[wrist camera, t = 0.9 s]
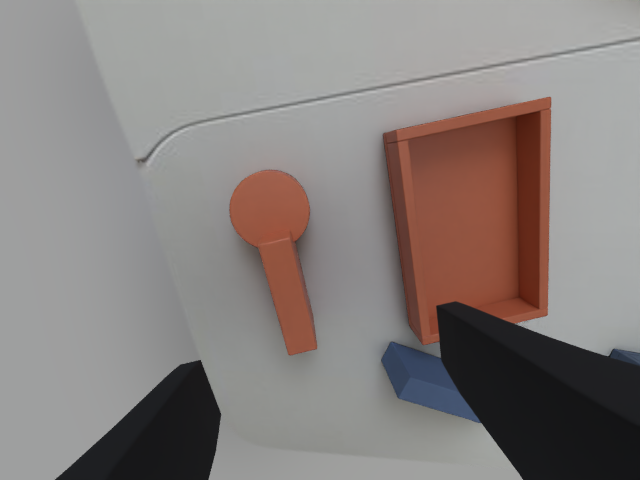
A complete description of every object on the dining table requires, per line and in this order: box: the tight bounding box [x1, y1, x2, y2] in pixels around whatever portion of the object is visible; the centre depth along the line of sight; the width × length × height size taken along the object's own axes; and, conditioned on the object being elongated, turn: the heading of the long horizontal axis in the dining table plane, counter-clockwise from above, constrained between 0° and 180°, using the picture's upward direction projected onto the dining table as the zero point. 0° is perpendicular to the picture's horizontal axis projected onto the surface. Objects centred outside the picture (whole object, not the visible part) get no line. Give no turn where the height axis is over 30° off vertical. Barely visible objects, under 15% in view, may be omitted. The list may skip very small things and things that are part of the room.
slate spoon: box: [381, 342, 481, 423], centre depth 17 cm, size 8×4×3 cm, turn 67°
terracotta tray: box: [383, 97, 551, 345], centre depth 15 cm, size 11×7×2 cm, turn 12°
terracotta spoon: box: [229, 170, 317, 355], centre depth 14 cm, size 8×4×3 cm, turn 12°
